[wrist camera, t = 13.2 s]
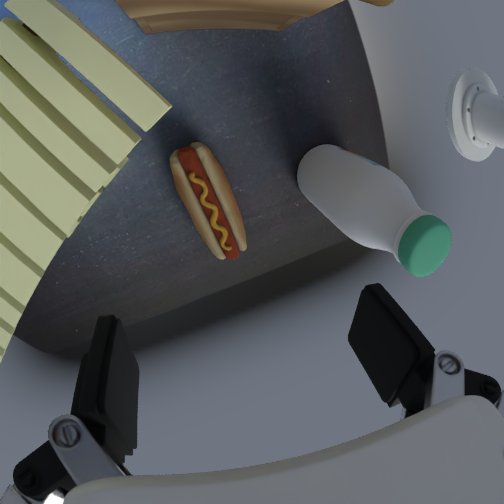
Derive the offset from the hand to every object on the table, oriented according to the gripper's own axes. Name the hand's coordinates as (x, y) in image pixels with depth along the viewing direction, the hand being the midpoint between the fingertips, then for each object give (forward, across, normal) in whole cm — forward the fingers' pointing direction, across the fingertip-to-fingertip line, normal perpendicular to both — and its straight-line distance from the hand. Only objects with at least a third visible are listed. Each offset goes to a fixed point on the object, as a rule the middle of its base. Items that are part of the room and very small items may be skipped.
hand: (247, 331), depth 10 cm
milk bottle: (+25, -14, +1) cm, 29 cm away
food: (+25, 0, +3) cm, 25 cm away
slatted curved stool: (+25, +19, -4) cm, 32 cm away
